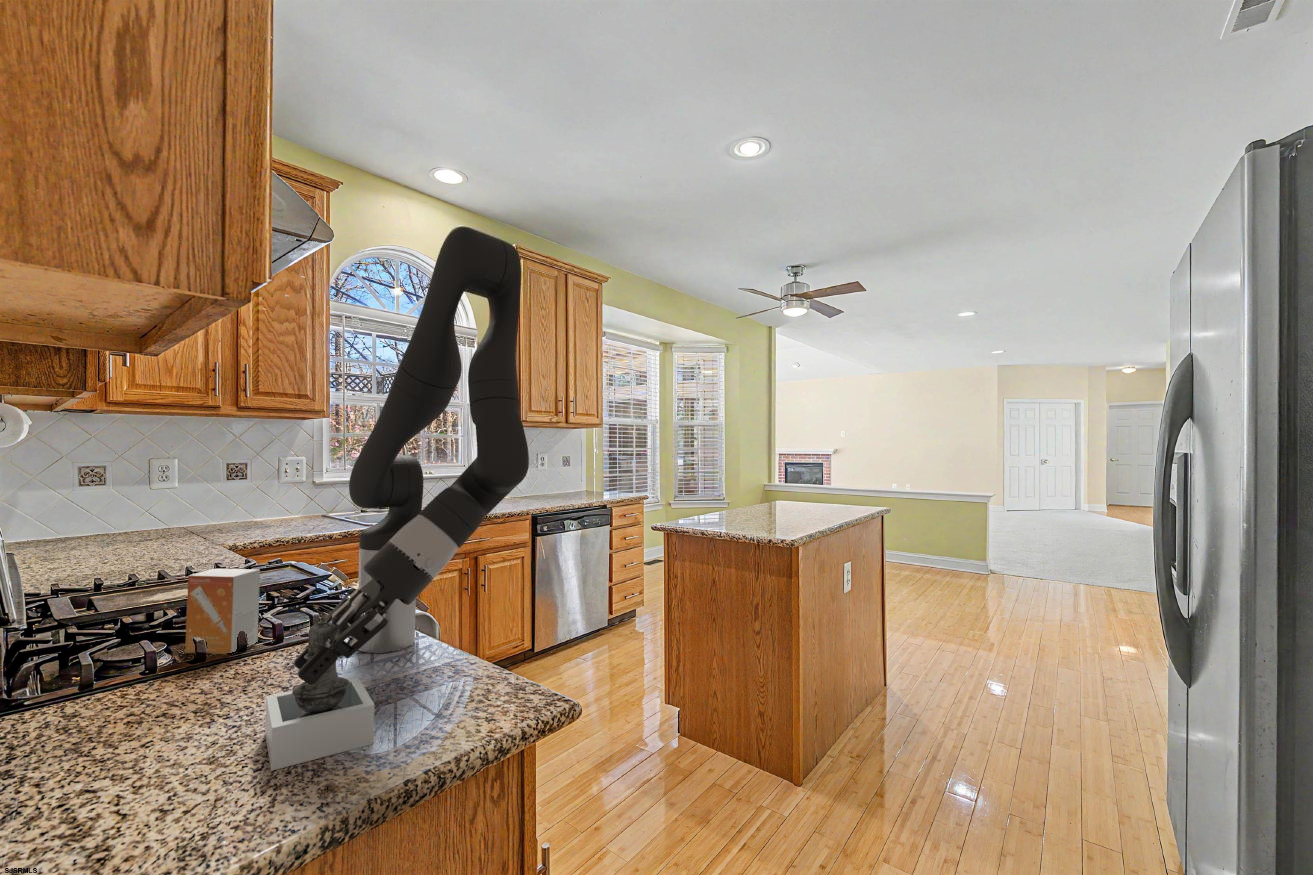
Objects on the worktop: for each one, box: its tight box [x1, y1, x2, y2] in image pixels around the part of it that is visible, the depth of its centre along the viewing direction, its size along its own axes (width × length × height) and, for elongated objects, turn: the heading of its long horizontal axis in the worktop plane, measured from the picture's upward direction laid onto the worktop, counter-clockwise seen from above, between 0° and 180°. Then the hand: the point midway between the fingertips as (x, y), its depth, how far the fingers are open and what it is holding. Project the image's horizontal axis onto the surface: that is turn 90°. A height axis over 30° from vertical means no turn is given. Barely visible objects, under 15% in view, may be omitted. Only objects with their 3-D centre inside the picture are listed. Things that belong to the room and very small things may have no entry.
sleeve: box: [264, 677, 375, 772], centre depth 69 cm, size 10×10×4 cm
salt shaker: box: [291, 614, 349, 719], centre depth 69 cm, size 6×6×12 cm
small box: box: [184, 568, 261, 655], centre depth 100 cm, size 8×6×13 cm
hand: (302, 673), depth 68 cm, fingers closed on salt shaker, 3 cm apart
